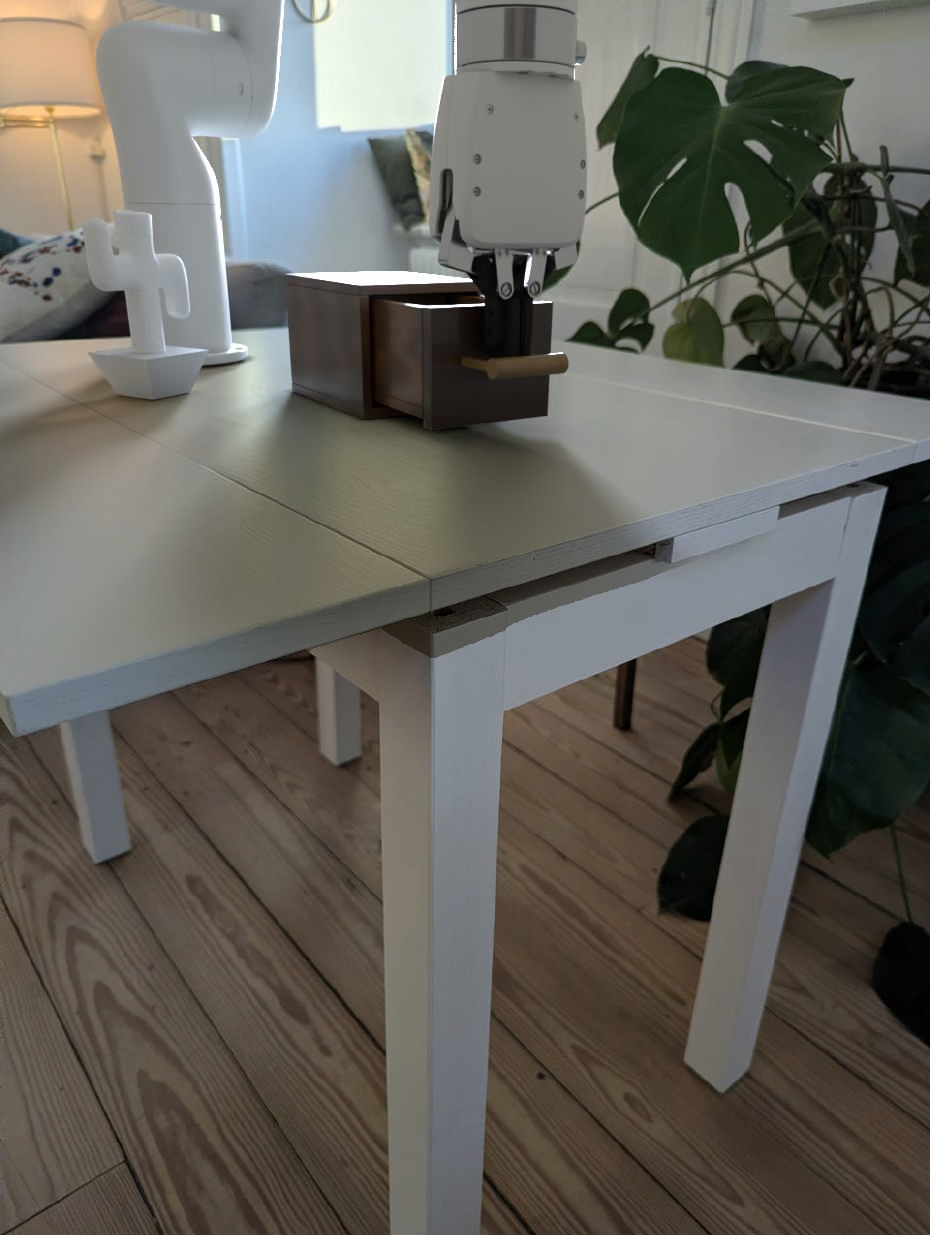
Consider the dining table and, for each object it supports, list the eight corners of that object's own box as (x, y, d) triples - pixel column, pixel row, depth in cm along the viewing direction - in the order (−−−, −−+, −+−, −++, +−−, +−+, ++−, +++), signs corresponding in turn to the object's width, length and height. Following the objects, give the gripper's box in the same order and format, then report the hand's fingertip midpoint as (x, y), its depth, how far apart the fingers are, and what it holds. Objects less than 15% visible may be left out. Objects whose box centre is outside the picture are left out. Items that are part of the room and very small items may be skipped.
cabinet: (485, 406, 78) (487, 281, 74) (363, 419, 72) (359, 284, 68) (402, 381, 89) (401, 271, 85) (292, 391, 83) (284, 273, 79)
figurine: (221, 389, 83) (205, 211, 77) (141, 406, 76) (116, 209, 70) (165, 382, 87) (145, 210, 81) (83, 397, 79) (54, 209, 73)
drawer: (589, 428, 66) (597, 308, 63) (468, 444, 61) (470, 314, 57) (455, 389, 80) (456, 289, 77) (348, 399, 75) (344, 293, 72)
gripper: (571, 72, 63) (558, 345, 71) (380, 50, 56) (388, 358, 63) (646, 57, 57) (623, 356, 65) (444, 31, 50) (444, 372, 57)
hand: (507, 356), depth 64 cm, fingers closed
